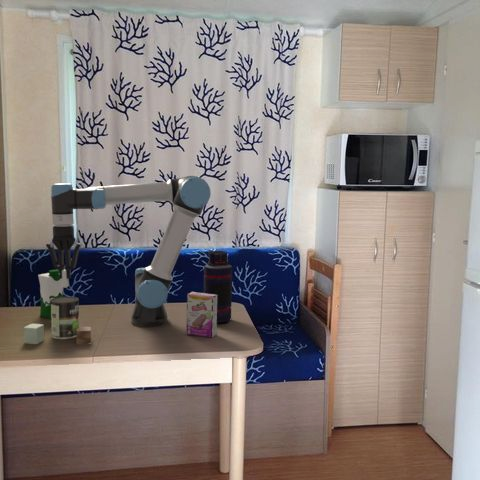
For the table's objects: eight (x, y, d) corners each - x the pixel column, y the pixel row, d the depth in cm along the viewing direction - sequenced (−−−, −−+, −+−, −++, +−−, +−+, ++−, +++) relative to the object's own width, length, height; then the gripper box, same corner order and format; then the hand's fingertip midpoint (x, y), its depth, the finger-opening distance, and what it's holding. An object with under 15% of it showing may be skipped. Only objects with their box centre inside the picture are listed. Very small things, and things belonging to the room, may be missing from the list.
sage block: (44, 340, 203) (43, 324, 202) (37, 344, 198) (36, 328, 197) (31, 339, 204) (31, 323, 203) (24, 343, 199) (23, 327, 198)
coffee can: (84, 332, 213) (83, 297, 211) (71, 340, 203) (70, 303, 201) (60, 330, 215) (59, 295, 213) (46, 338, 205) (45, 301, 203)
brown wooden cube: (90, 339, 205) (90, 326, 204) (90, 343, 200) (90, 330, 200) (77, 340, 204) (76, 327, 203) (76, 344, 199) (76, 331, 198)
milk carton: (49, 319, 228) (48, 272, 226) (36, 315, 234) (35, 269, 231) (67, 315, 236) (66, 269, 233) (54, 311, 241) (53, 266, 238)
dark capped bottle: (235, 323, 230) (237, 253, 225) (209, 326, 224) (211, 254, 220) (222, 314, 242) (223, 248, 237) (197, 317, 237) (198, 249, 232)
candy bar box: (185, 335, 213) (186, 294, 210) (191, 331, 217) (191, 291, 215) (212, 338, 209) (213, 297, 207) (217, 334, 214) (217, 294, 211)
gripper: (42, 226, 199) (45, 289, 203) (77, 226, 199) (80, 289, 203) (49, 223, 207) (51, 284, 210) (83, 224, 207) (85, 284, 210)
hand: (65, 286), depth 206 cm, fingers closed
